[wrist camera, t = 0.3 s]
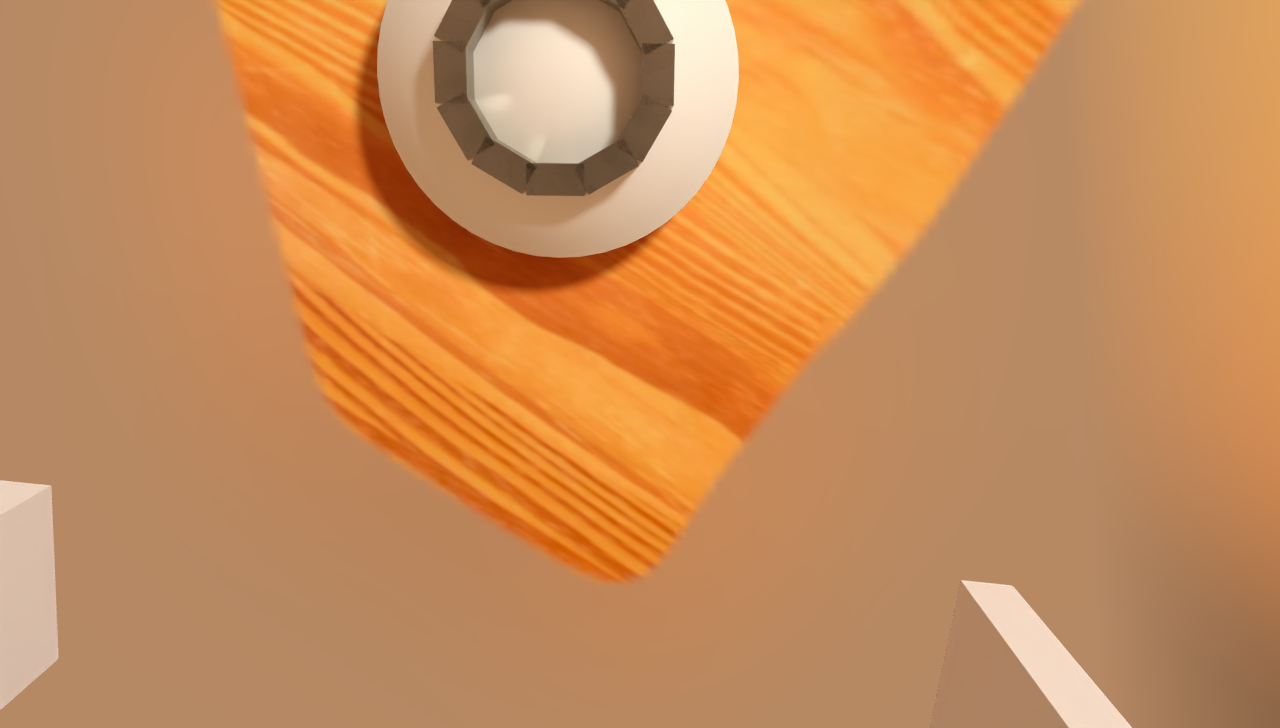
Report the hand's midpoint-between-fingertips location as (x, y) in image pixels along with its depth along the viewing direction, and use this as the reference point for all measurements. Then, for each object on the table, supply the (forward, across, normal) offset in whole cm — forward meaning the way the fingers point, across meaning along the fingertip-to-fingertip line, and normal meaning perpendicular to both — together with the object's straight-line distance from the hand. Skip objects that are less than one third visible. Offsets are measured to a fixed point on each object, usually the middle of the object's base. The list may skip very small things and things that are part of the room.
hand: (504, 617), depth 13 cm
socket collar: (+25, -2, +9) cm, 27 cm away
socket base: (+27, -2, +9) cm, 29 cm away
